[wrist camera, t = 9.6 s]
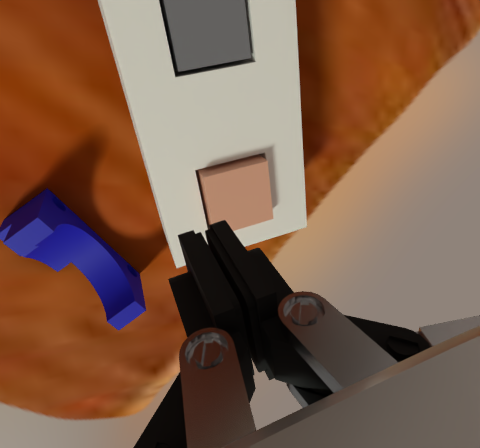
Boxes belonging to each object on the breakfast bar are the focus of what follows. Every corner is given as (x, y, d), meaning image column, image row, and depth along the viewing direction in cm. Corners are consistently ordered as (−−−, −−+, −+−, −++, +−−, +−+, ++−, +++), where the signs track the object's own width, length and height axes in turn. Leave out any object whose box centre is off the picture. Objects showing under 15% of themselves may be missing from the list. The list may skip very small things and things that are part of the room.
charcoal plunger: (146, -10, 26) (159, -22, 20) (212, -19, 27) (241, -33, 22) (163, 64, 28) (178, 71, 23) (222, 53, 30) (251, 57, 24)
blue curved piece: (4, 219, 30) (-15, 255, 25) (47, 187, 30) (37, 217, 25) (104, 298, 37) (105, 340, 32) (139, 272, 37) (145, 310, 32)
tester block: (84, -46, 24) (80, -72, 18) (249, -64, 27) (291, -91, 21) (163, 229, 35) (176, 268, 29) (274, 197, 38) (306, 227, 32)
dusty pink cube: (184, 153, 31) (203, 177, 26) (238, 139, 32) (267, 160, 27) (196, 203, 34) (215, 236, 28) (246, 190, 35) (273, 218, 29)
